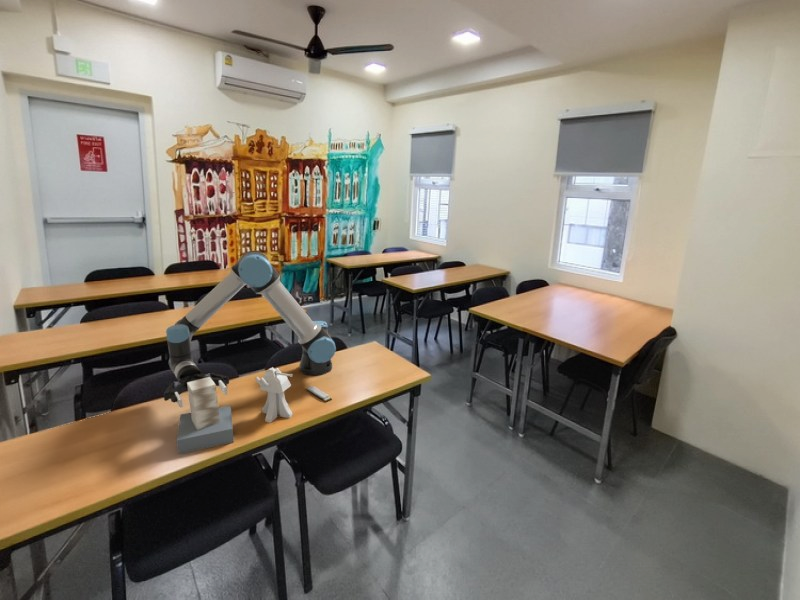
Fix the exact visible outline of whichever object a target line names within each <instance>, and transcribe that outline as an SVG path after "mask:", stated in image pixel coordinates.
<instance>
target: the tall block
mask: <svg viewBox="0 0 800 600" xmlns="http://www.w3.org/2000/svg"><path fill="white" fill-rule="evenodd" d="M187 387H188V389H187V392H188V393H187V394H188V401H189V408H190V409H189V410H190V413H191V417H192V421H193V423H194V425H195V427H196V429H197V430H198V429H201V428H204V427H207V426H210V425H213V424H216V423H219V422H220V419H219V410H218V408H219V402H218V395H217V394H218V393H217V386H216V384H215V383H214V382H213V380H212V379H211V378H210V377H207V378H203V379H199V380H195V381H191V382H187Z"/></svg>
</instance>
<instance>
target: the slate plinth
mask: <svg viewBox="0 0 800 600" xmlns="http://www.w3.org/2000/svg"><path fill="white" fill-rule="evenodd" d="M218 410H219V419H220V422H219V423H216V424H213V425H210V426H207V427H204V428H201V429H198V430H197V429H196V427H195V425H194V423H193V421H192V417H191V412H188V413H187V412H186V413H181V414H180V415H179V423H178V429H177V434H176V447H177V452H178V455H181V454H186V453H190V452H195V451H199V450H204V449H208V448H212V447H218V446H222V445H226V444H233V443H234V442H235V440H234V429H233V428H234V425H233V418H232V416H233V414H232V408H231V405H226V406H220V407H219V406H218Z"/></svg>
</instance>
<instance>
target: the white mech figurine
mask: <svg viewBox="0 0 800 600" xmlns="http://www.w3.org/2000/svg"><path fill="white" fill-rule="evenodd" d="M288 377H290V378H293V373H283V372H282V371H281V370H280V369H279V368H278V367H276V368H274V367H273V366H272V367H270V368H268V369H267V370H266V371H265V373H264V375H263V376H262V377H259V376H256V377H254V380H255V382H257V384H258V385H260V386H259V390H260V391H263V392H267V397H266V402H265V403H264V406H263V408H262V409H261V413H263V414H266V416H265V419H264V420H265V422H266V423H272V422H273V421H274V420H276V419H277V417H278V418H279V417H283V418H286V419H290V418H292V417H293V416H294V414H293V412H292V410H291V408H290V406H289V403H288V402H287V400H286V396H285V391H287V390H288V389H290V387H291V386H292V384H291V382H290V380H289V379H288Z"/></svg>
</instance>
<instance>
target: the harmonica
mask: <svg viewBox="0 0 800 600" xmlns="http://www.w3.org/2000/svg"><path fill="white" fill-rule="evenodd" d="M304 390H305V391H306V392H308V393H310V394H312V395H313V396H315V397H317V398H318V399H320V400H323V402H324V403H328V402H330V401H333V399H332V398H331V397H330V396H329V394H328V393H326V392H324V391H323V390H320V389H319V388H318V387H316V386H314V385H310V386H307V387H305V389H304Z"/></svg>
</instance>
